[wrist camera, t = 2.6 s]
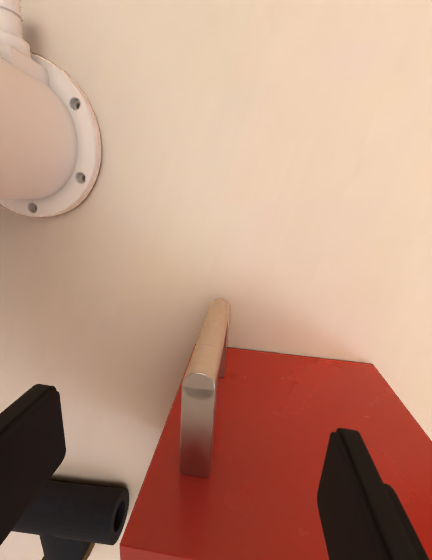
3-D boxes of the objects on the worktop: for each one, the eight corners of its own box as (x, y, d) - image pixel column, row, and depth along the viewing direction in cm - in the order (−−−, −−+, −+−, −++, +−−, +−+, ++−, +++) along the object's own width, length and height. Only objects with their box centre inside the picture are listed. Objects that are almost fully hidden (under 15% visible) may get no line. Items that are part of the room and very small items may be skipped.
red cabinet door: (198, 283, 25) (111, 421, 9) (389, 301, 24) (675, 504, 8) (195, 352, 27) (120, 561, 11) (370, 373, 26) (567, 649, 10)
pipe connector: (116, 597, 32) (1, 578, 33) (135, 543, 37) (34, 529, 39) (105, 525, 29) (-21, 508, 31) (127, 477, 34) (18, 465, 36)
